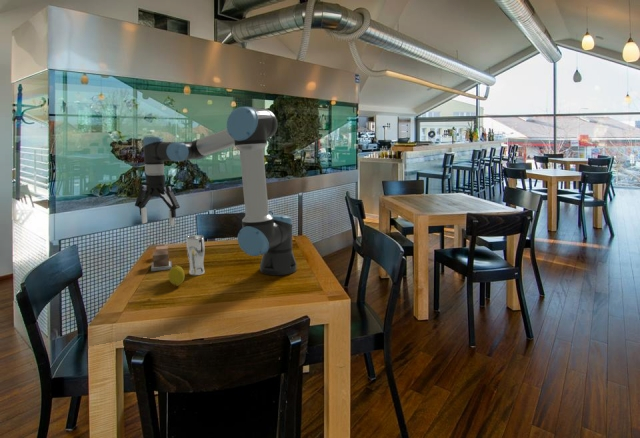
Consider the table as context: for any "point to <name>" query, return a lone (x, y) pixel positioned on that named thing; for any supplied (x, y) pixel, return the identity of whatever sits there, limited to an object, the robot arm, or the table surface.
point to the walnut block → (160, 258)
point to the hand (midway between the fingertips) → (158, 224)
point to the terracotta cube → (162, 249)
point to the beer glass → (196, 254)
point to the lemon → (176, 275)
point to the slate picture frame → (161, 267)
